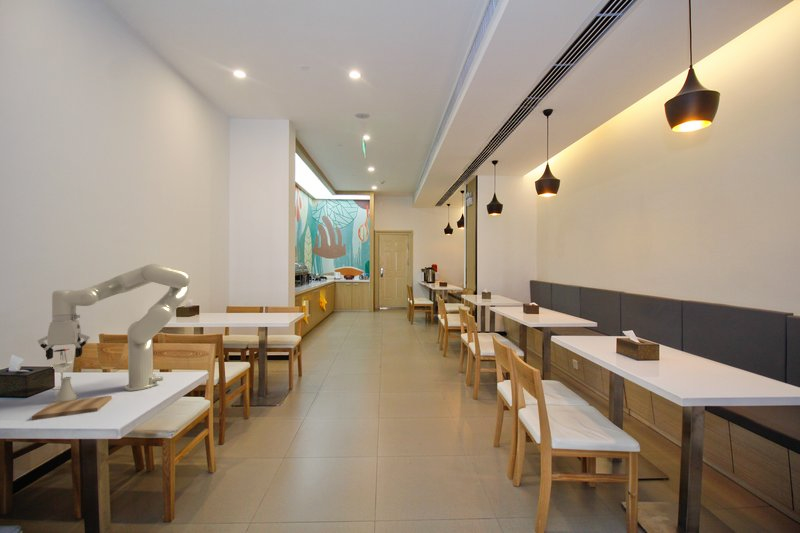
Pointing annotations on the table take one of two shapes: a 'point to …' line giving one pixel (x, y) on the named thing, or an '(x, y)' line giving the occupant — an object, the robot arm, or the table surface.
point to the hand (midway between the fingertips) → (64, 357)
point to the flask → (66, 391)
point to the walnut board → (72, 407)
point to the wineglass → (61, 361)
